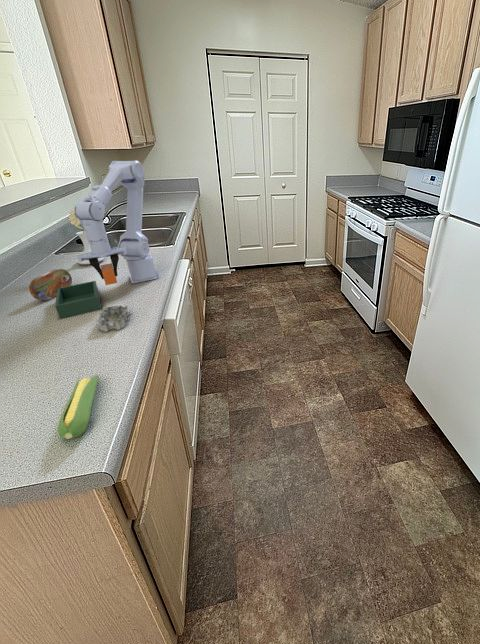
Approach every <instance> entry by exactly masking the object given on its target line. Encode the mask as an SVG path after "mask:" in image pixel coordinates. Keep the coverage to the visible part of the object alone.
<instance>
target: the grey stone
mask: <svg viewBox="0 0 480 644" xmlns="http://www.w3.org/2000/svg"><path fill="white" fill-rule="evenodd" d="M128 310H129V307H128V305H124V306H123V305H114V306H113V305H110V306H106V305H105V306H103V307H102V310H101V311H100V313H99V315H98V317H97V318H96V319H95V323H96V325H97V326H99V329H100V331H103V332H105V333H107V332H109V331H111V330H113V329H115V330H117V331H119V330H121V329H123V328H125V327H126V322H128V317H129V316H130V315H129V311H128Z"/></svg>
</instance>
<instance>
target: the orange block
mask: <svg viewBox="0 0 480 644" xmlns="http://www.w3.org/2000/svg"><path fill="white" fill-rule="evenodd" d="M100 268H101V271H102V274H103V278H104V279H103V281H104V284H105V286H109V285H114V284H118V281H117V276H115V273H114V269H113V265H112V262H110V263H105V264H101V265H100Z"/></svg>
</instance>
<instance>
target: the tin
mask: <svg viewBox="0 0 480 644" xmlns="http://www.w3.org/2000/svg"><path fill="white" fill-rule="evenodd" d="M71 285H73V278H72V275H71V273H70V272H69V271H67V270H66V269H64V268H56V269H52V270H50V271H47V272H46V273H43V274H41V275H39V276H37V277H35V278H33V279H32V280H31V281H30V283H29V287H28V290H29V292H30V295H31V296H32V297H33V298H34V299H36V300H39V301H50V300H52V299H54V298H56V297H57V289H58V288H61V287H66V286H71Z"/></svg>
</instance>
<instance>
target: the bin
mask: <svg viewBox="0 0 480 644" xmlns="http://www.w3.org/2000/svg"><path fill="white" fill-rule="evenodd" d="M100 295H101V294H100V291H99V286H98V284H97V281H96V280H92V281H87V282H82V283H77V284H71V286H66V287H61V288H58V289H57V296H56V297H55V305H54V307H55V309H56V312H57V315H58V317H59V320H60V319H64V318H69V317H73V316H78V315H82V314H85V313H90V312H94V311H99V310H101V309H102V303H101V296H100Z"/></svg>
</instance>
